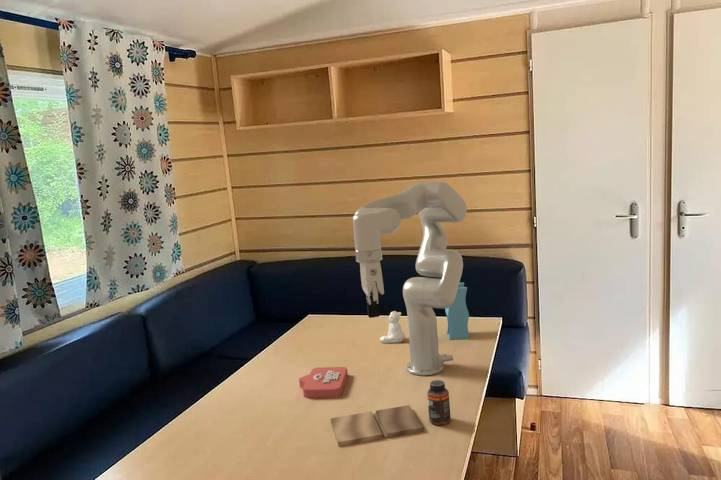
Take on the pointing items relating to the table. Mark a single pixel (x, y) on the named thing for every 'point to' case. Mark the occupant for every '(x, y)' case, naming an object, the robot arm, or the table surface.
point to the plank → (356, 428)
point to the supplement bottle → (438, 403)
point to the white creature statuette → (393, 329)
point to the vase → (458, 316)
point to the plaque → (324, 382)
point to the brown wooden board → (397, 421)
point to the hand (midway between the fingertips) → (373, 316)
